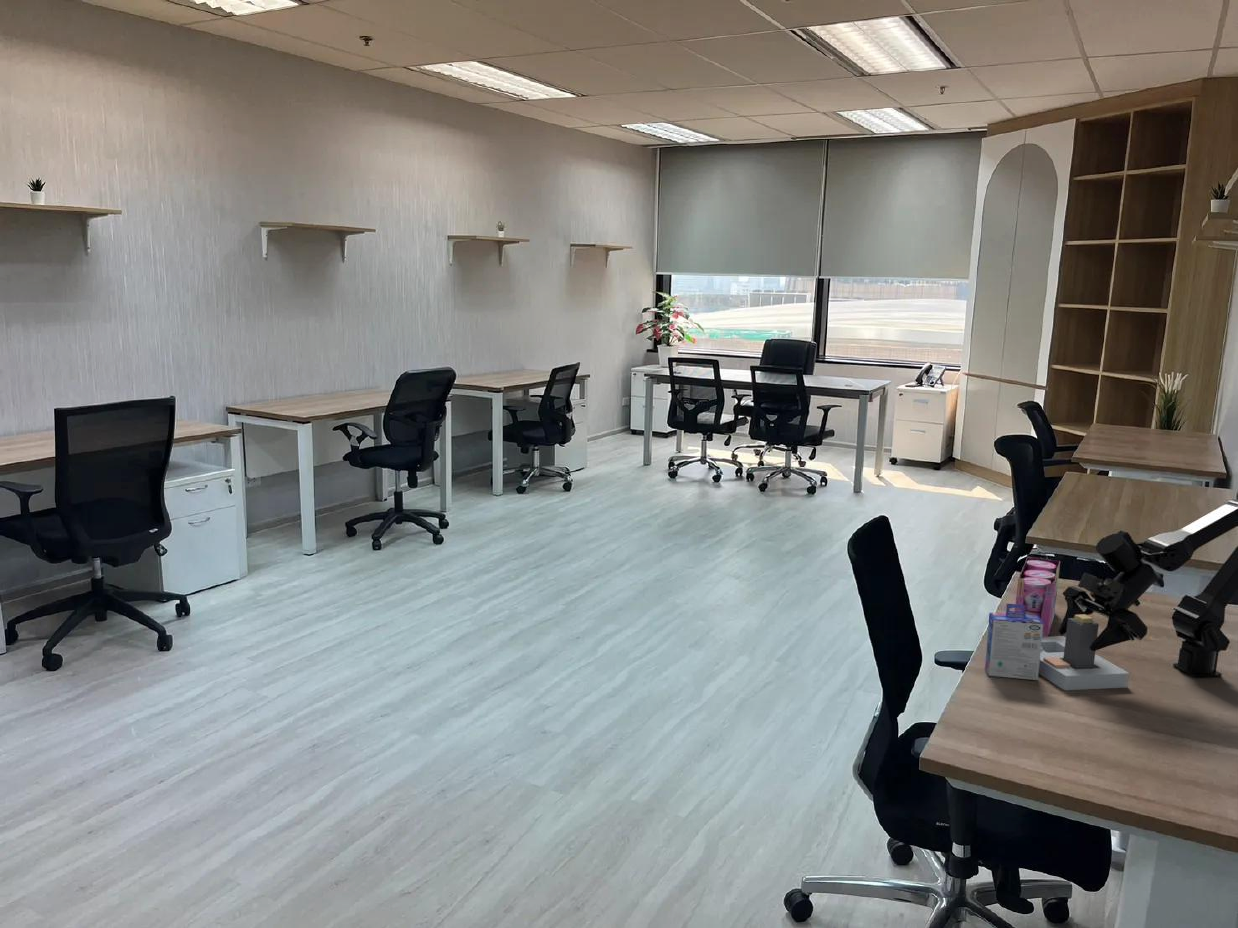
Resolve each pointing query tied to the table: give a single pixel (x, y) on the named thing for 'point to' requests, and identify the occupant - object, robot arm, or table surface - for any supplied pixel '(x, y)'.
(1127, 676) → the socket panel
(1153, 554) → the robot arm
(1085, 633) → the plug
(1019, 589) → the gum box
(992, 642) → the ink cartridge box
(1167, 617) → the table surface
